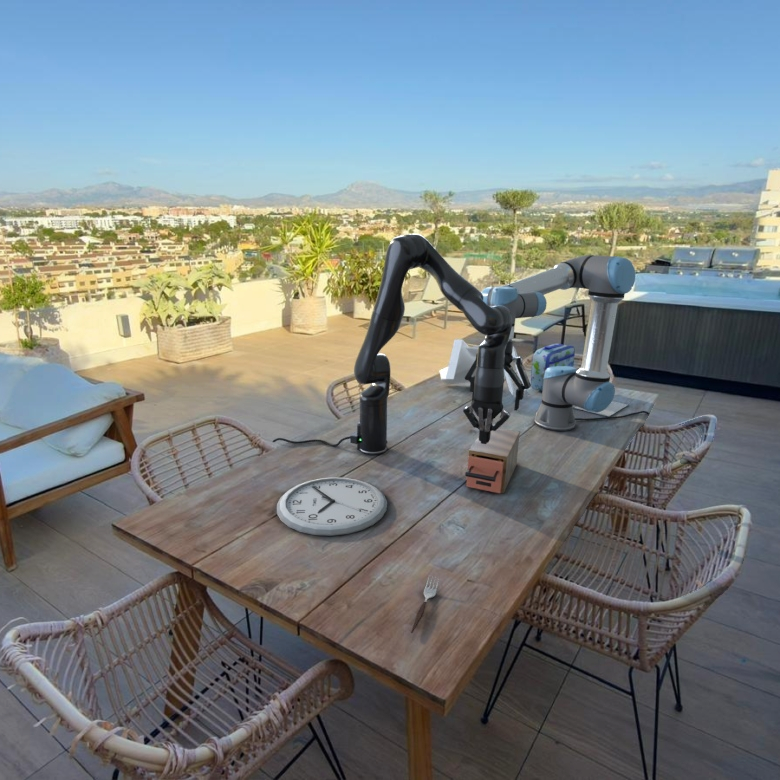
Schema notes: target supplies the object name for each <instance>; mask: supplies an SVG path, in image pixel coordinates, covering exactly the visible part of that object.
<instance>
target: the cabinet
mask: <svg viewBox="0 0 780 780" xmlns="http://www.w3.org/2000/svg"><path fill="white" fill-rule="evenodd" d="M485 429H486V427H485ZM520 434H521V432H520V431H518V430H513V429H506V428H500V427H499V428H498V429H497V430H496V431H491V436H490V440H489V442H487V444H482V443H481V441H479V435H478V436H477V437H476V439H475V441H474V442H473V444H472V445H471V446H470V448H469V449H468V457H469V456H474V454H475V455H481V456H486V457H492V458H498V459H503V462H504V465H503V476H502V487H501V493H502V494H504V493H505V492H506V489H507V487H508V486H509V483H510V481H511V478H512V476H513V473H514V471H515V469H516V467H517V464H518V455H519V445H520V436H521V435H520Z"/></svg>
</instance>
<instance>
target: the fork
mask: <svg viewBox="0 0 780 780" xmlns="http://www.w3.org/2000/svg"><path fill="white" fill-rule="evenodd" d="M430 576H431V574H429V575H428V578H427V581H426V585H425V587H424V589H423V595H424V598H425V600H424V601H423V603H422V604H421V605H420V607H419V608H418V610H417V613H416V615H415V619H414V622H413V626H412V629H411V630H410V631H411V632H410V634H413V633H414V632H415V629H416V627H418V624H419V622H420V621H421V619H422V618H423V616H424V613H425V609H426V605H427V603H428V600H429V599H432V598H434V597H435V596H436V595H437V592H438V588H439V584H440V583H439V582H440V576H439V577H438V579H437V577H435V578H434V575H432V577H431V579H430ZM433 578H434V579H433ZM433 580H434V581H433ZM436 580H437V582H436ZM429 582H430V583H429ZM432 583H433V584H432ZM435 585H436V586H435Z"/></svg>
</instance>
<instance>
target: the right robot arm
mask: <svg viewBox="0 0 780 780" xmlns="http://www.w3.org/2000/svg"><path fill="white" fill-rule="evenodd" d="M635 281H636V268H635V266H634V265H633V263H632V261H631V259H628V258H627V257H621V256H617V255H614V256H613V255H612V256H611V255H595V254H586V255H580V256H577V257H573V258H570V259H567V260H564V261H561V262H558V263H556V264H555V265H554V267H553V268H550V269H548V270H547V269H546V270H544V271H542V272H539V273H536V274H533V275H530V276H527V277H525V278H522V279H519V280H517V281H516V280H515V281H513V282H511V283H508V284H505V285H502V286H488V287H485V288H483V290H482V291H480V292H481V293H482V295H483V301H484V302H485V303H486V304H487V305H488V306H490V307H492V306H497V305H502V306H505V307H507V308H508V309H509V311H510V312H511V315H512V328H511V333H510V336H509V340H508V343H507V346H506V349H505V360H504V369H505V371H506V372H507V373H508V374H509V375H510V377H511V378H512V381H513V384H515V385H516V387H517V388H516V389H515V391H516V397H514V407H513V408H514V411H516V412H517V411H518V410H519V409H520V401H522V400H523V399H524V395H525V393H524V389H528V390H529V389H530V388H531V381H530V379H529V377H528V374H527V371H526V369H525V367H524V363H523V362H524V361H523V357H522V356H521V355H520V356H518V357H513V356H512V349H513V346H514V340H513V339H514V338H515V336H514V335H515V327H516V326H515V325H516V319H523V318H524V319H525V318H535V317H540V316H542V315H543V314H544V313H545V312H546V309H547V305H548V304H547V298H546V296H545V295H547V294H550V293H553V292H555V291H558V290H562V291H567V290H569V289H572V288H573V289H584V290H585V289H586V290H588V291H587V296H588V298H589V299H590V301H591V302H590V308H589V309H590V310H589V315H588V321H587V329H586V333H585V341H584V348H583V353H582V358H581V359H582V360H581V364H580V365H581V366H580V367H579V368H577V367H575V366H573V367H570V366H555V367H549V368H547V369H546V370H545V375H544V378H543V379H544V380H543V390H541V391H542V392H541V402H540V405H539V407H538V410H537V411H536V413H535V417H534V424H535V425H536V426H537V427H539V428H542V429H544V430H549V431H556V432H567V431H572V430H574V429H575V428H576V421H599V420H611V419H612V420H613V419H623V418H626V417H630V416H633V415H638V414H644V413H645V414H647V415H650V413H649V412H648V411H646V410H640V411H636V412H630V413H627V414H624V415H619V416H616V415H615V416H609V417H608V416H604V417H593V418H592V417H591V418H582V417H581V418H580V417H579V418H578V417H576V416H575V413H574V407H576V406H577V407H580V408H583V409H585V410H587V411H586V412H588V411H592V412H601V411H603V410H605V409H606V408H607V407H608V406H609V405H610V403H611V402H612V401H614V397H615V394H616V387H615V385H614V384H613V383H612V382H611V381H610V379H611V374H610V373H609V371H608V365H609V359H610V353H611V347H612V342H613V336H614V330H615V324H616V318H617V313H618V306H619V303H620V302H621V301H622V300H624V299H625V295H626V294H628V293H629V292H631V290H632V288H633V287H634V286H635ZM477 354H478V353H477ZM512 362H513V363H514V365H515V364H516V365H517V368H518V371H519V373H520V376H521V379H522V381H523V383H522V381H521V380H520V378H519V376H518V373H517V372H516V371H515V370H514V368H513V366H512V364H511V363H512ZM476 367H477V355H476V360H475V361H474V363H473V365H472V366H471V368H470V370H469V371H468V373H467V375H466V376H465V380H468V381H470V382H469V392H470V393H472V396H471V402H472V401H473V398H474V383H475V376H474V377H472V374H473V373H474V371H475V369H476ZM573 406H574V407H573ZM592 412H591V413H592ZM575 417H576V418H575Z"/></svg>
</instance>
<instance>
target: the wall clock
mask: <svg viewBox="0 0 780 780" xmlns="http://www.w3.org/2000/svg"><path fill="white" fill-rule="evenodd" d="M387 509H388V500H387V498H386V496H385V494H384V493H383V492H382V491H381V490H380V489H379V488H377V487H376V486H374V485H372V484H371V483H369V482H365V481H362V480H359V479H355V478H349V477H338V476H337V477H335V476H333V477H332V476H331V477H322V478H317V479H312V480H307V481H305V482H302V483H299V484H297V485H295V486H293V487H292V488H290V489H288V490H287V491H286V492H285V493H284V494H283V495H281V496H280V498H279V499H278V502H277V503H276V515H277V517H278V518H279V520H280V521H281V522H282V523H283V524H285V525H286V526H287V527H288V528H290V529H293V530H295V531H297V532H299V533H303V534H308V535H312V536H327V537H328V536H329V537H331V536H332V537H333V536H342V535H350V534H352V533H356V532H361V531H363V530H366V529H368V528H369V527H372V526H373V525H375V524H376V523H378V522H379V521H380V520H381V519H382V518H383V517H384V516H385V514H386V512H387Z"/></svg>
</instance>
